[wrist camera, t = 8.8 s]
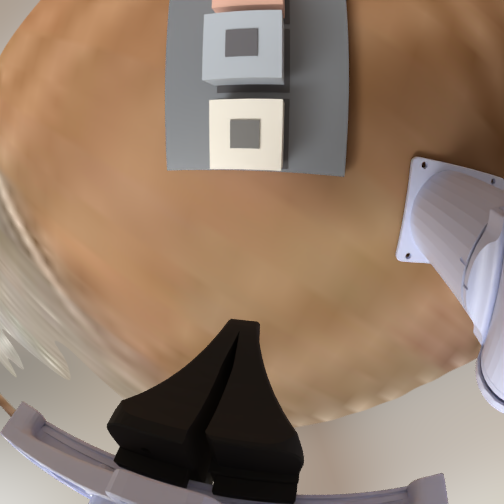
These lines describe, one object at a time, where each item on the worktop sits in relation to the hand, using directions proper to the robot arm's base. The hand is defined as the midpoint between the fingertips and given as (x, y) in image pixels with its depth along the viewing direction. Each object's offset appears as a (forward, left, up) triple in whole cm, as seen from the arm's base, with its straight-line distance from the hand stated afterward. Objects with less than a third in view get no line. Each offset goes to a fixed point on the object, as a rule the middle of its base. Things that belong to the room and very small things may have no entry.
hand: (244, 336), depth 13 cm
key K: (+1, -13, -7) cm, 15 cm away
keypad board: (+1, -16, -10) cm, 19 cm away
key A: (+1, -9, -8) cm, 12 cm away
